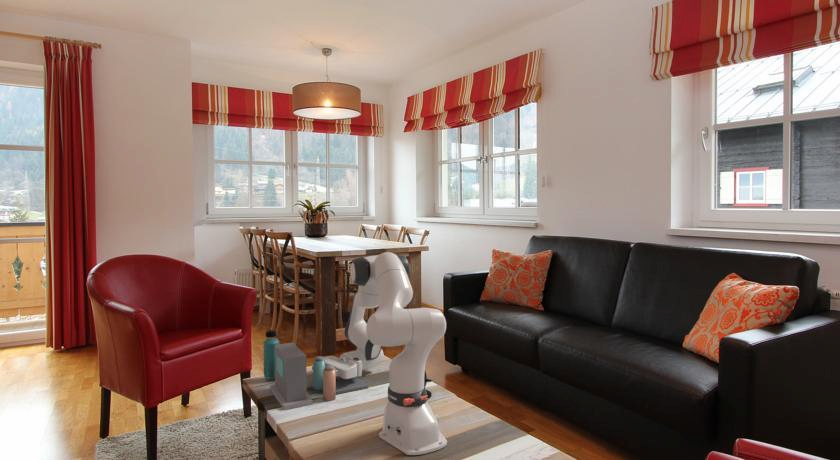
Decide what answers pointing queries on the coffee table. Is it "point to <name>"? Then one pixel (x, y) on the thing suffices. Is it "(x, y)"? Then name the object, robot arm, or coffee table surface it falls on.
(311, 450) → the coffee table surface
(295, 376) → the block
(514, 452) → the coffee table surface
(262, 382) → the coffee table surface
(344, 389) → the pad
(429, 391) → the webcam
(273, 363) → the beverage bottle
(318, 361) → the cylinder
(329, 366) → the terracotta cartridge
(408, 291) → the robot arm
